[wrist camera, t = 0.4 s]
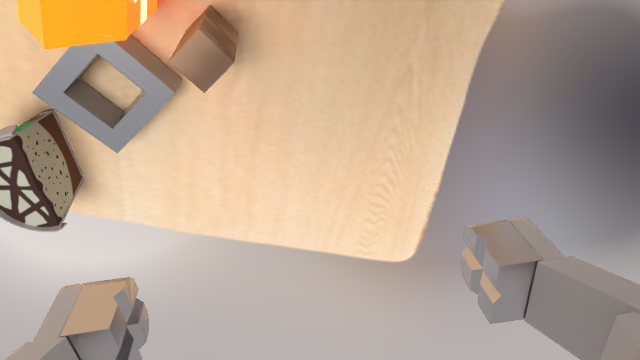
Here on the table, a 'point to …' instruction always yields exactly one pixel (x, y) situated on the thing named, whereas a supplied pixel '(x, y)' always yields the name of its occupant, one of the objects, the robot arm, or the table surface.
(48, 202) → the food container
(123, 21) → the orange juice
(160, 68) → the socket
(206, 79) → the peg
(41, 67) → the table surface
